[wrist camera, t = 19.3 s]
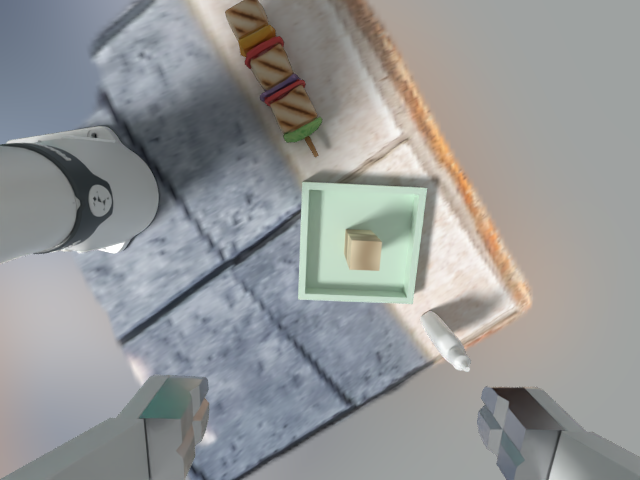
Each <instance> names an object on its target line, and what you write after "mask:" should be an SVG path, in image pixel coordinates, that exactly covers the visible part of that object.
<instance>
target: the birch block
mask: <svg viewBox="0 0 640 480" xmlns="http://www.w3.org/2000/svg"><path fill="white" fill-rule="evenodd" d="M381 248H382V241H381V240H380V239H379V238H378V237H377V236H376V235H375V234H374V233H373V232H372V231H371V230H356V229H346V231H345V246H344V255H345V258H346V261H347V264H348V267H349V270H370V271H379V269H380V259H381Z"/></svg>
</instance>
